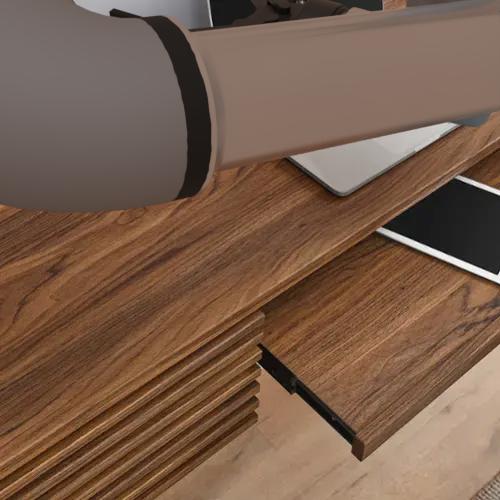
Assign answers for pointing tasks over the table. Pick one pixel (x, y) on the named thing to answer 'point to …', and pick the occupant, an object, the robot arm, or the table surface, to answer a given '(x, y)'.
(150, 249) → the table surface
